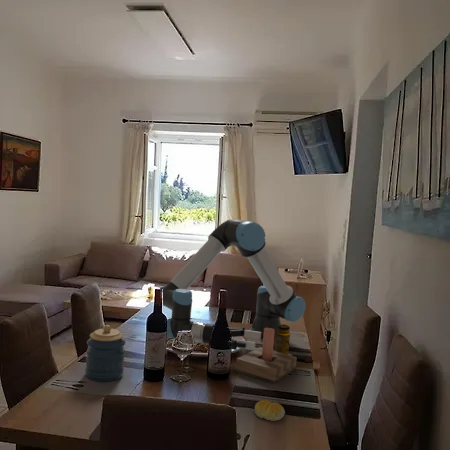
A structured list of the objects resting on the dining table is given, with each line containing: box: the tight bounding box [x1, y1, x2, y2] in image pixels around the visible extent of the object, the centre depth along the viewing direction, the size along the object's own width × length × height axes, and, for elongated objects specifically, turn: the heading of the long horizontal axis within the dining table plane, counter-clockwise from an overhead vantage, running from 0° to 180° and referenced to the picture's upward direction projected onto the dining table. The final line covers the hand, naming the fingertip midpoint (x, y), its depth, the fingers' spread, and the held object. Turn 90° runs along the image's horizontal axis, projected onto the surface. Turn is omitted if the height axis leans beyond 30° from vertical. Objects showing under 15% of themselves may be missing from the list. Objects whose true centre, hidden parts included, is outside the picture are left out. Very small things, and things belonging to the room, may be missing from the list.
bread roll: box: [254, 399, 286, 422], centre depth 143 cm, size 8×9×4 cm
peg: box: [262, 328, 275, 362], centre depth 178 cm, size 4×4×15 cm
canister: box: [84, 324, 127, 383], centre depth 163 cm, size 13×13×18 cm
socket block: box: [235, 346, 298, 384], centre depth 178 cm, size 18×16×5 cm
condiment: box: [273, 323, 293, 356], centre depth 198 cm, size 7×8×12 cm
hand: (258, 340), depth 178 cm, fingers open, 13 cm apart
